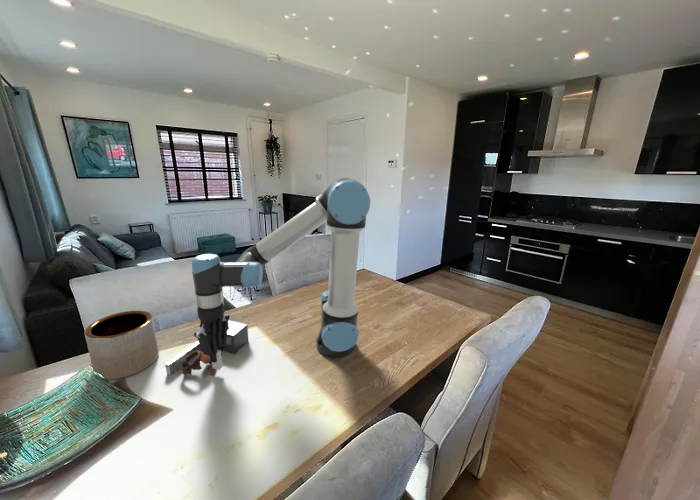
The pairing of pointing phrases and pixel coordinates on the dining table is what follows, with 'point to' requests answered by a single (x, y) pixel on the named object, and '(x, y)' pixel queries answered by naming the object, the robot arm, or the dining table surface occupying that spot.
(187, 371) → the brown curved piece
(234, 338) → the motor bracket
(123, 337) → the planter
